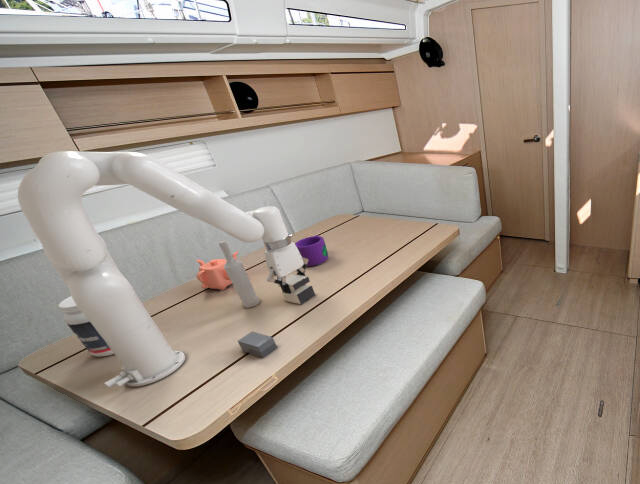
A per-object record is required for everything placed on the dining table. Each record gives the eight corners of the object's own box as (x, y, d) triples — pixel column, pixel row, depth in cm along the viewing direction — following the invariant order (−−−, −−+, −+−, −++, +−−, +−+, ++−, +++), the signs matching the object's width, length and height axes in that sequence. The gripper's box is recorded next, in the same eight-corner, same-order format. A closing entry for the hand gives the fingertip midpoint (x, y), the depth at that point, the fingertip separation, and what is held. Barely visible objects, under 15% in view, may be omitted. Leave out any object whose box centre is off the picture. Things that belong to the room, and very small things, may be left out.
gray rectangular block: (263, 357, 101) (258, 347, 99) (242, 351, 104) (237, 340, 102) (277, 347, 104) (272, 337, 102) (257, 341, 107) (251, 331, 106)
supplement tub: (81, 357, 106) (40, 308, 98) (128, 329, 118) (96, 283, 110) (113, 360, 104) (75, 310, 96) (159, 331, 115) (128, 284, 107)
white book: (295, 290, 121) (293, 285, 120) (279, 287, 124) (277, 282, 123) (310, 281, 126) (308, 276, 125) (294, 278, 129) (292, 273, 128)
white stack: (301, 304, 124) (297, 295, 122) (285, 300, 127) (281, 291, 125) (315, 295, 129) (312, 285, 127) (299, 291, 132) (296, 282, 130)
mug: (325, 266, 149) (318, 245, 145) (297, 269, 148) (289, 248, 144) (337, 248, 165) (330, 228, 160) (311, 251, 164) (304, 232, 159)
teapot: (207, 281, 144) (195, 258, 140) (248, 271, 150) (237, 249, 145) (197, 298, 133) (183, 273, 128) (242, 287, 138) (230, 263, 133)
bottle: (251, 308, 124) (220, 245, 113) (239, 307, 125) (208, 245, 114) (263, 300, 128) (235, 238, 117) (252, 299, 129) (222, 238, 118)
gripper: (292, 231, 126) (308, 274, 134) (245, 253, 112) (266, 299, 120) (307, 233, 124) (323, 277, 132) (261, 255, 110) (281, 303, 117)
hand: (295, 287), depth 126 cm, fingers closed on white book, 6 cm apart
